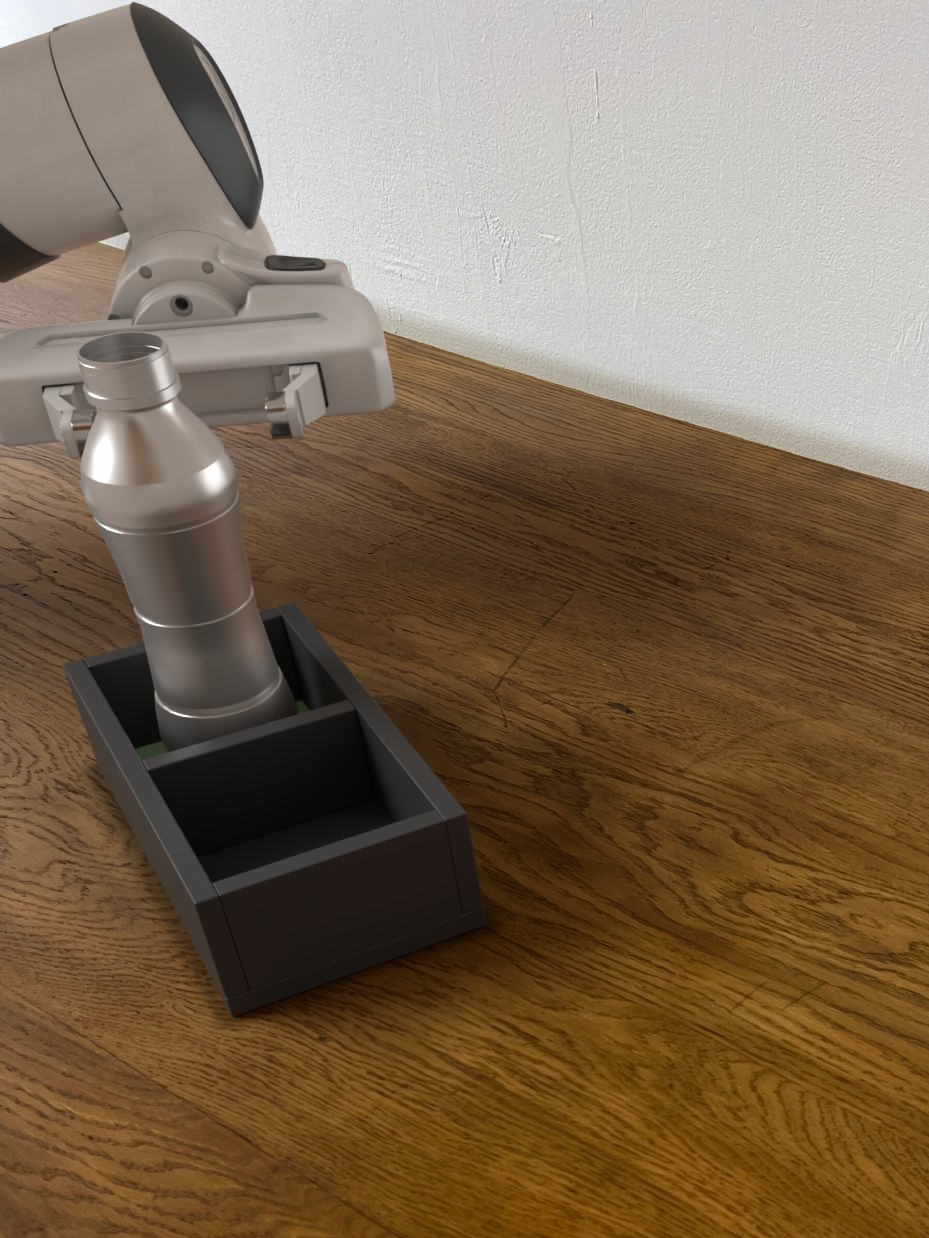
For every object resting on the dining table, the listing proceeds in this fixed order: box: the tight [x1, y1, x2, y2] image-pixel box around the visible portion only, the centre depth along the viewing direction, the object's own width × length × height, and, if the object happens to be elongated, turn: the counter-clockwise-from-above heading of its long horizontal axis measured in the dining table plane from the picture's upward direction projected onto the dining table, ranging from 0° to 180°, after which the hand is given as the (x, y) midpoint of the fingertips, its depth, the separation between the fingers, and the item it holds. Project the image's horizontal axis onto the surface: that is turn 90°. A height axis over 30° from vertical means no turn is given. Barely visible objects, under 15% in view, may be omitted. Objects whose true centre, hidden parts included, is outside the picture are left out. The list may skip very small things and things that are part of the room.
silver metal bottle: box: [76, 331, 298, 752], centre depth 70 cm, size 6×7×20 cm
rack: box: [62, 602, 487, 1018], centre depth 73 cm, size 12×22×6 cm, turn 31°
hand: (183, 433), depth 76 cm, fingers open, 8 cm apart
